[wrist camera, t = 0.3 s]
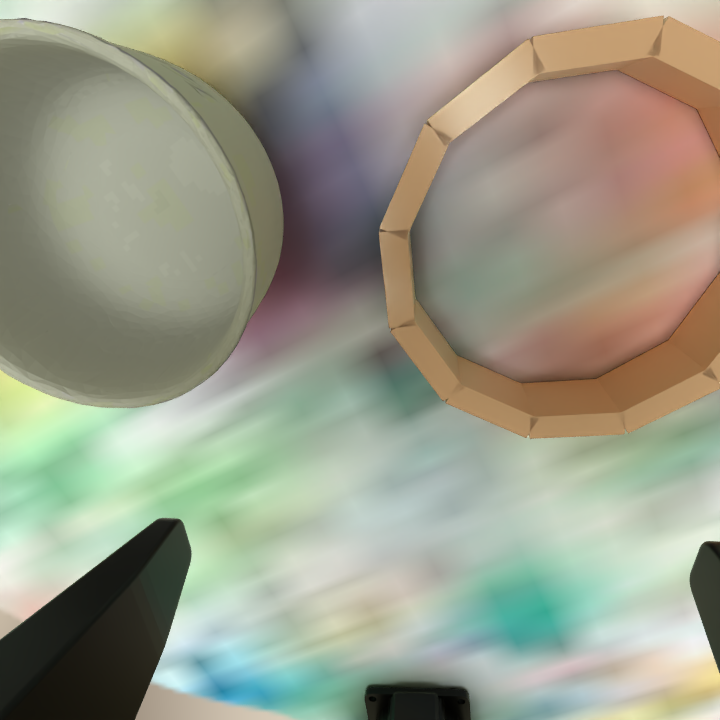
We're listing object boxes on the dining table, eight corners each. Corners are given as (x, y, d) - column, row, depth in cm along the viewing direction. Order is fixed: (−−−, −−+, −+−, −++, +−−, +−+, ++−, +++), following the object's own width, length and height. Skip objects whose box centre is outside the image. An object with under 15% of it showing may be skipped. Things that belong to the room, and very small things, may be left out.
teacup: (274, 34, 18) (178, -35, 11) (331, 315, 22) (289, 400, 15) (-49, 110, 21) (-305, 93, 13) (56, 352, 25) (-95, 440, 17)
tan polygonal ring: (726, 391, 22) (770, 427, 19) (403, 409, 24) (401, 444, 21) (794, 8, 16) (869, -17, 14) (369, 75, 18) (360, 63, 16)
